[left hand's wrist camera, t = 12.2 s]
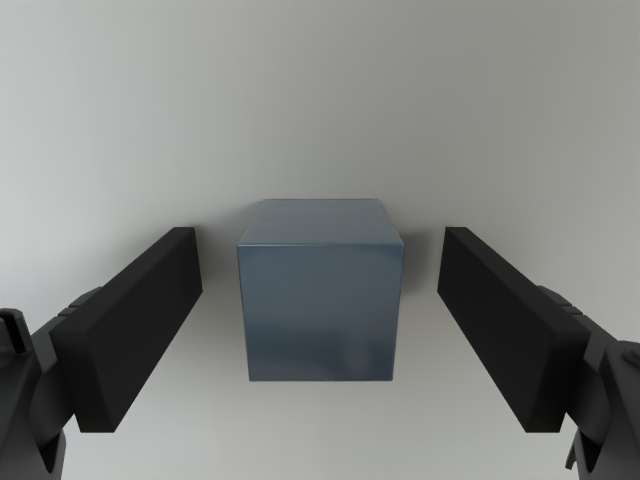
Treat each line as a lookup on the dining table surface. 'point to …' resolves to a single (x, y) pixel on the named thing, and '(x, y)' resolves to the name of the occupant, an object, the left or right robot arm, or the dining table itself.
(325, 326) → the block
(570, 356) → the left robot arm
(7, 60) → the dining table surface
